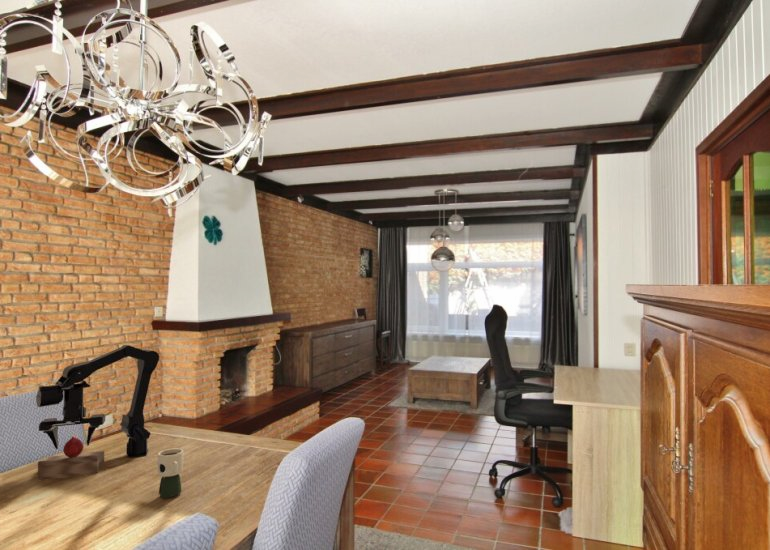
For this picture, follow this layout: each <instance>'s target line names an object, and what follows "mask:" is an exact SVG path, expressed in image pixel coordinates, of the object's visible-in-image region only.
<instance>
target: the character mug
mask: <svg viewBox="0 0 770 550" xmlns="http://www.w3.org/2000/svg"><path fill="white" fill-rule="evenodd" d="M183 471H184V449H182V448H179V447H178V448H177V447H175V448H167V449H164V450H161V451H158V453H157V471H156V472H157V476H158V477H161V479H160V483H159V489H158V495H159V497H160V498H163V499H168V498H173V497H174V496H177V495H179V494H181V493H182V490H183V489H182V484H181V483H182V481H181V476H180V474H182V472H183Z"/></svg>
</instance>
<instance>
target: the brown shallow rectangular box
mask: <svg viewBox="0 0 770 550" xmlns="http://www.w3.org/2000/svg"><path fill="white" fill-rule="evenodd" d="M104 463H105V450H99V451H98V450H97V451H88V452H81V453H80V454H79V455H78V456H77V457H71V458H69V457H67V456H66V455H65V454H62V455H54V456H53V455H51V456H48V457H47V459H46V460H39V461H38V462H37V481H38V480H41V481H47V480H46V479H49V480H57V479H62V478H71V477H79V476H86V475H94V474H98V473H99V471H100V470H101V467H102V466H103V464H104ZM56 478H57V479H56Z"/></svg>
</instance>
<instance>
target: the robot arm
mask: <svg viewBox="0 0 770 550" xmlns="http://www.w3.org/2000/svg"><path fill="white" fill-rule="evenodd" d="M127 357H130V358H131V359H135V360H136V365H137V366H136V367H137V372H138V373H137V378H136V380H135V381H136V382H135V385H134V386H135V387H134V391H133V393H132V394H133V395H132V399H131V404H130V407H129V408H130V409H129V411H128V413H126V414H122V416H121V418H122V419H121V423H120V424H119V426H121V427H120V429H121V431H122V432H123V433H124V434H126V437H127V438H128V440H127V441H128V442H127V443H126V456H127V458H134V457H142V456H143V457H144V456H147V455H148V452H149V449H148V443H149V442H148V441H149V439H150V436H151V432H150V431H149V430H148V429H146V428H145V416H144V409H145V405H146V400H147V395H148V391H149V385H150V382H151V377H152V374H153V373H154V371H155V370H156V369H157V366H158V364H159V361H160V354H159V353H158V352H157V351H155V350H152V349H140V348H138V347H135V346H133V345H130V344H124V345H122V346H121V347H118V348H116V349H113V350H111V351H109V352H107V353H105V354H102V355H100V356H97V357H95V358H93V359H90V360H87V361H81V362H78V363H77V362H76V363H74V364H71V365H68V366H66V367H64V368H63V371H62V373H61V375H60V378H59V379H58V380H56V382H55V383H54V384H52V385H51V384H50V385H39V386H38V389H37V393H36V395H35V402H36V406H37V408H41V407H42V408H43V407H49V406H55V405H59V404H60V403H61V402H62V401H63V407H62V417H63V419H61V420H60V419H59V420H58V419H57V417H52V418H44V419H43V420H42V421H41V422H39V424H38V431H39V432H43V434H47V436H48V437H49V439H50V440H51V442H52V444H53V446H54V448H55V449H56V450H58V449H59V436H58V435H59V434H58V433H59V432H58V430H59V427H60V426H61V427H64V426H75V425H84V424H85V425H86V424H89V426H88V428H87V438H86V446H87V447H89V446H90V444H91V441H92V438H93V436H94V432H95V430H96V429H98V428H99V427H100V426H102V425H104V424H105V422H106V415H105V414H104V413H98V414H92V415H91V416H90V417H87V407H86V406H84V405H85V404H84V389H85V388H91V384H88V382H87V381H86V379H88V378H89V377H90V376H91V375H93V374H94V373H95V372H97V371H98V370H100V369H103V368H105V367H107V366H110V365H113V364H115V363H117V362H119V361H121V360H123V359H125V358H127Z"/></svg>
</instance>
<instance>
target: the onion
mask: <svg viewBox="0 0 770 550" xmlns="http://www.w3.org/2000/svg"><path fill="white" fill-rule="evenodd" d="M83 450H84V443H83V441H82V440H81V439H79V438H78V437H76V436H75V435H72V436H71V438H69V440H68V441H67V442H65V443H64V445H63V449H62V451H63V455H66V456H67V457H69V458H71V457H77V456H78V455H79V454H80V453H83Z"/></svg>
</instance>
